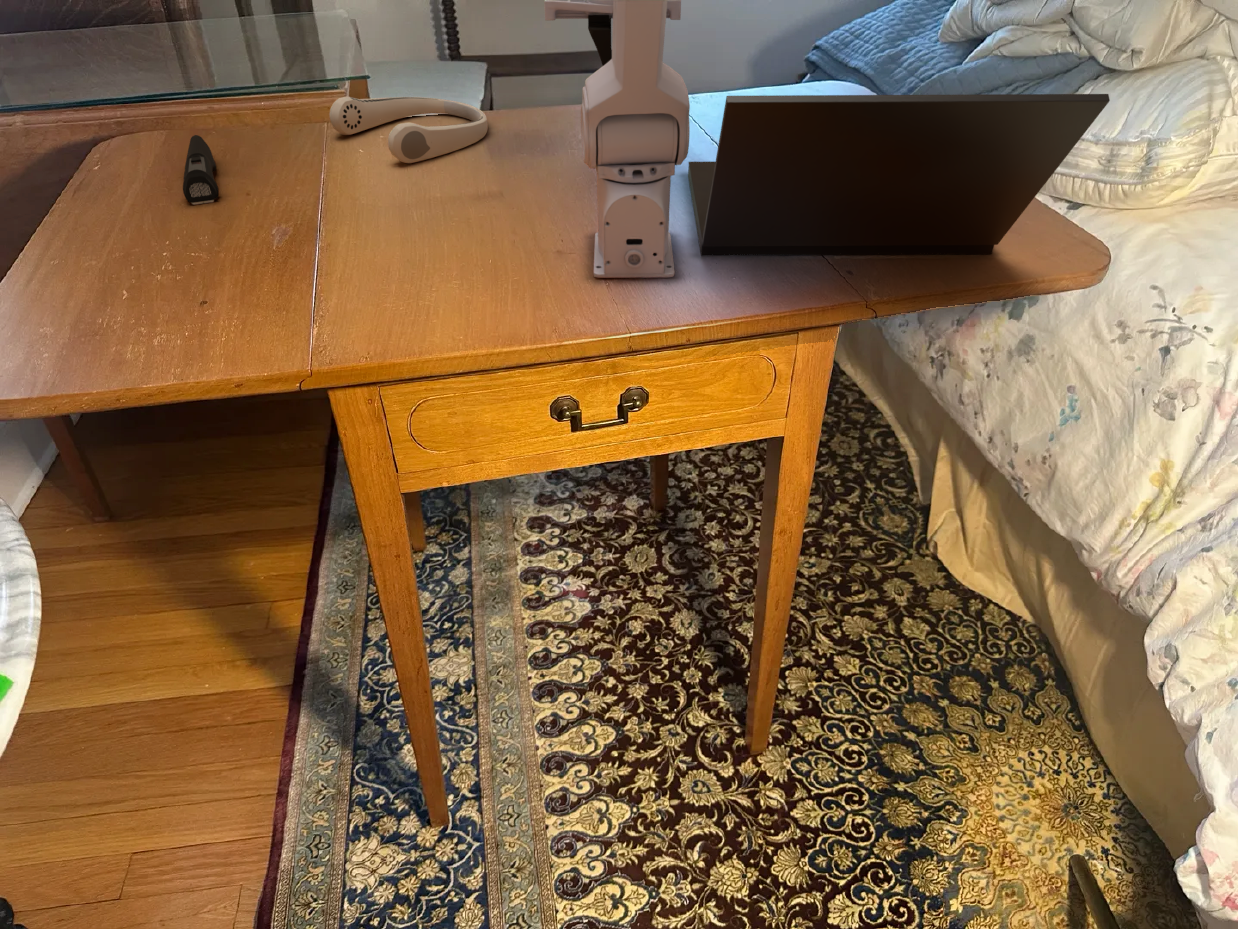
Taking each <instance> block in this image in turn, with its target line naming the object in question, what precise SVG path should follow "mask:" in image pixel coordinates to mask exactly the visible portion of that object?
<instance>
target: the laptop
mask: <svg viewBox="0 0 1238 929" xmlns="http://www.w3.org/2000/svg"><path fill="white" fill-rule="evenodd" d="M715 162H716V161H688V167H687V168H688V169H687V178H688V185H689V190H690V196H691V202H692V209H693V215H694V221H695V226H696V234H697V238H698V239H697V240H698V244H699V245H698V246H699V252H700V256H703V257H704V256H707V257H709V256H710V257H711V256H712V257H713V256H716V257H717V256H866V255H867V256H884V255H885V256H888V255H891V256H892V255H893V256H894V255H895V256H899V255H901V256H902V255H907V256H908V255H910V256H911V255H912V256H913V255H915V256H916V255H917V256H918V255H992V254H993V251H994V248H995V245H842V246H702V239H703V233H704V227H705V221H706V215H707V209H708V203H709V197H710V192H711V186H712V180H713V174H714V168H715Z"/></svg>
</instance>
